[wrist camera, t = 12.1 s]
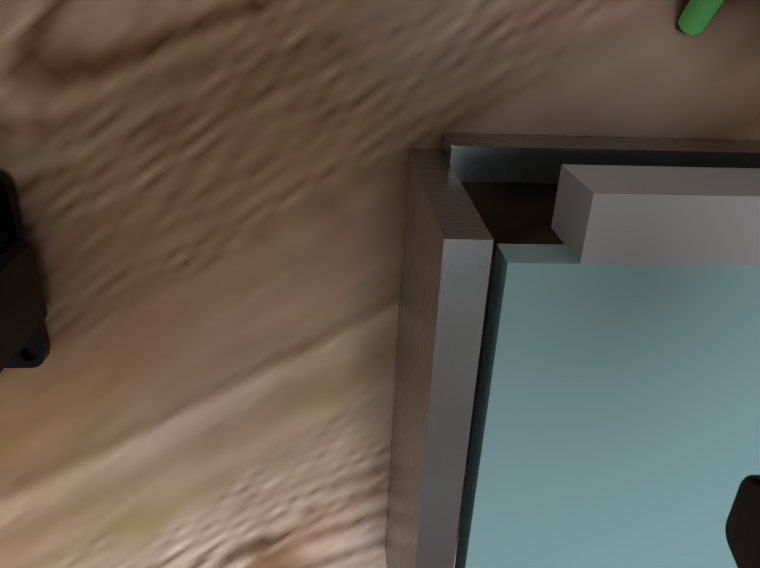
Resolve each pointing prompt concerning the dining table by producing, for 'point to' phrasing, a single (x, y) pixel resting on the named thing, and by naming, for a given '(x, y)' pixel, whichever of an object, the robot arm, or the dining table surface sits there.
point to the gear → (698, 15)
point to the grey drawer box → (473, 308)
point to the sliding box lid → (620, 376)
